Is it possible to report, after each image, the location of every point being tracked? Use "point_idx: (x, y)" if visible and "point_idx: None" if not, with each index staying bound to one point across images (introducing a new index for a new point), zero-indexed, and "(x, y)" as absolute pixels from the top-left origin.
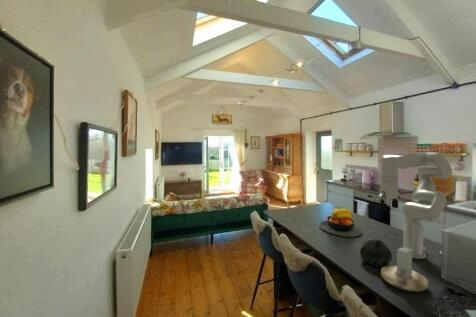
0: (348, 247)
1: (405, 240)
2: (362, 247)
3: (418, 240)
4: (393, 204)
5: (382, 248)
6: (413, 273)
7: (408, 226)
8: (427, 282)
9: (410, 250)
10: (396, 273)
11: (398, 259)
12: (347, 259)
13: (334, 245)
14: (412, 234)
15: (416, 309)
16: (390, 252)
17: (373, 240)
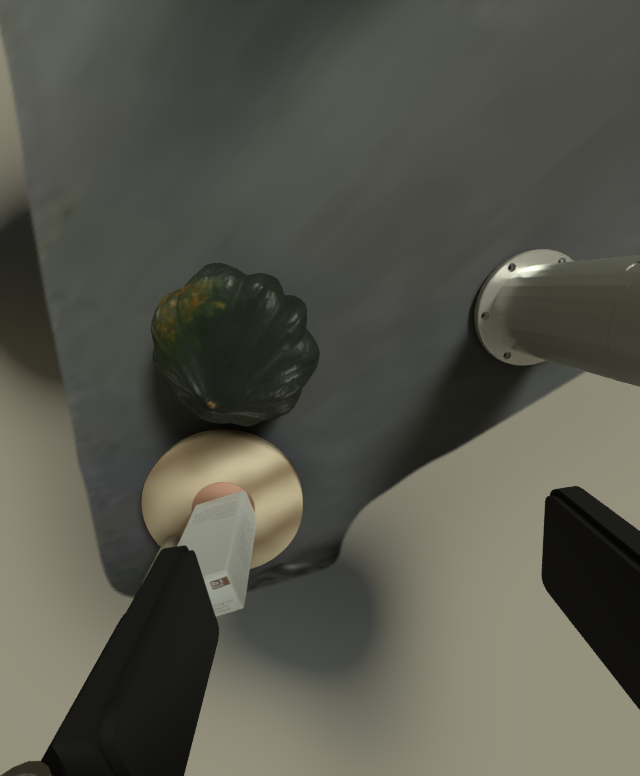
0: (244, 107)
1: (541, 304)
2: (153, 322)
3: (576, 368)
4: (602, 578)
5: (222, 419)
6: (279, 506)
7: (636, 336)
8: (269, 559)
9: (227, 612)
10: (204, 496)
11: None
12: (127, 260)
13: (162, 34)
14: (586, 354)
15: None
16: (281, 415)
17: (198, 368)
